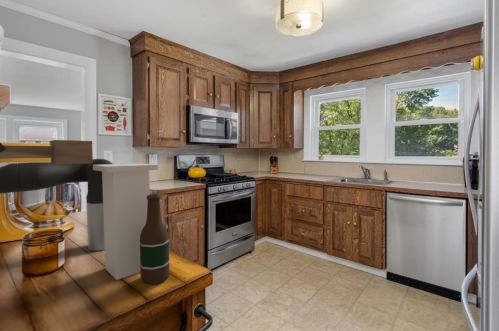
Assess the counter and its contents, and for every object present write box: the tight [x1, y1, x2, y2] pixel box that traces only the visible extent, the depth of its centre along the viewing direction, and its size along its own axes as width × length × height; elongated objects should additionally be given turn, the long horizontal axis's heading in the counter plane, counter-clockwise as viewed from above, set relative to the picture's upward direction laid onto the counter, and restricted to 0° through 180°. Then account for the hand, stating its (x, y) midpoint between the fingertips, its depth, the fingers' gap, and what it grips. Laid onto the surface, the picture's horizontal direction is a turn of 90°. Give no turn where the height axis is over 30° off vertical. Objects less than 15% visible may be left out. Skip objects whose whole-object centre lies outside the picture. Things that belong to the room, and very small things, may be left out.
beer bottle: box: [139, 193, 170, 286], centre depth 72 cm, size 8×8×24 cm
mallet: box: [0, 139, 94, 164], centre depth 63 cm, size 8×23×6 cm, turn 135°
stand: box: [93, 162, 159, 281], centre depth 78 cm, size 13×14×32 cm
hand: (2, 145), depth 59 cm, fingers closed on mallet, 3 cm apart
